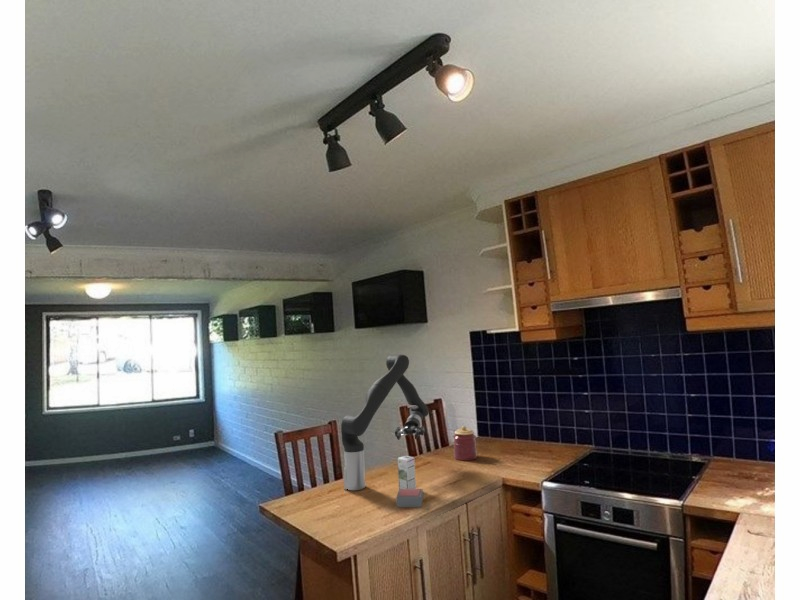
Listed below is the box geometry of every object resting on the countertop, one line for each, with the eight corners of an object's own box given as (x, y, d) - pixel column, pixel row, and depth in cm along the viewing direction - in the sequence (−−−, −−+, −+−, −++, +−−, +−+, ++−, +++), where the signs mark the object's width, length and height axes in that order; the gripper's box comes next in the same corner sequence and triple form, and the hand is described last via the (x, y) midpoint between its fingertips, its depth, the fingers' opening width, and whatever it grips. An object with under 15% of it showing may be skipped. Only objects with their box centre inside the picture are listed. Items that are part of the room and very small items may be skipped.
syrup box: (416, 489, 208) (414, 456, 209) (407, 492, 204) (406, 459, 205) (406, 486, 212) (405, 454, 213) (398, 490, 207) (397, 457, 208)
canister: (470, 462, 248) (468, 429, 249) (449, 459, 255) (448, 427, 257) (481, 456, 258) (479, 424, 259) (461, 453, 266) (459, 422, 267)
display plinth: (396, 507, 187) (396, 496, 187) (399, 498, 197) (399, 488, 197) (421, 507, 186) (420, 496, 186) (422, 498, 196) (422, 488, 196)
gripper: (398, 417, 236) (391, 431, 220) (425, 416, 232) (420, 429, 217) (400, 431, 237) (393, 445, 221) (427, 430, 233) (422, 444, 218)
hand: (406, 437), depth 219 cm, fingers open, 8 cm apart
